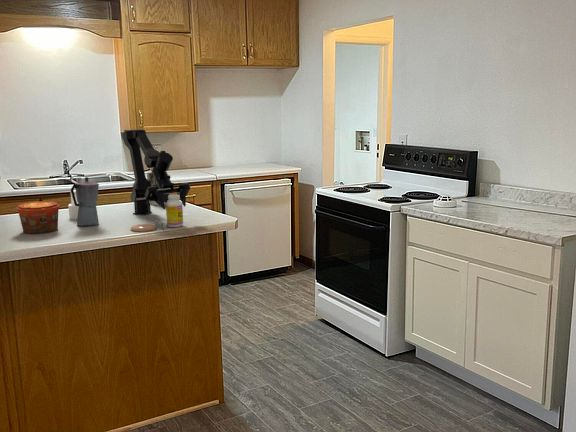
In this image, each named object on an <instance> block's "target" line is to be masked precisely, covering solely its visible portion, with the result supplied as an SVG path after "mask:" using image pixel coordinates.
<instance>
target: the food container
mask: <svg viewBox="0 0 576 432" xmlns="http://www.w3.org/2000/svg"><path fill="white" fill-rule="evenodd" d="M59 208H61V205H60V204H59V203H58V202H56V201H35V202H32V201H31V202H25V203H22V204H19V205H18V206H17V207H16V209H15V210H16V211H18V216H19V219H20V220H19V221H20V224H21V227H22V232H23V233H25V234H29V235H39V234H47V233H52V232H55V231H57V230H58V229H59Z"/></svg>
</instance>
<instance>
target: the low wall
mask: <svg viewBox="0 0 576 432" xmlns="http://www.w3.org/2000/svg"><path fill="white" fill-rule="evenodd" d="M155 225H156V228H159V229H160V230H161V231H163V230H164V223H163V222H162V221H161V220H159V219H156V218H155Z"/></svg>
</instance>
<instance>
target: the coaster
mask: <svg viewBox="0 0 576 432" xmlns="http://www.w3.org/2000/svg"><path fill="white" fill-rule="evenodd" d="M156 229H157V226H156V224H152V223H148V224H147V223H144V224H143V223H141V224H135V225H131V227H130V231H131V232H134V233H135V232H137V233H143V232H144V233H145V232H147V233H148V232H151V231H152V232H153V231H155V230H156Z"/></svg>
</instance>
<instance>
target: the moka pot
mask: <svg viewBox="0 0 576 432" xmlns="http://www.w3.org/2000/svg"><path fill="white" fill-rule="evenodd" d="M99 186H100V184H99V182H94V181H89V177H84V181H80V182H77V183H73V184H72V186H71V189H70V190H71V192H70V194H71V193H72V197H73V200H74V204H75V206H79V208H78V217H77V219H76V225H78V226H80V227H83V226H85V227H87V226H88V227H89V226H96V225H99V223H100V222H99V216H98V210H97V209H98V208H97V201H98V197H99ZM74 190H76V196H77V201H78V204H77V202H76V199H75V193H74Z"/></svg>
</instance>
